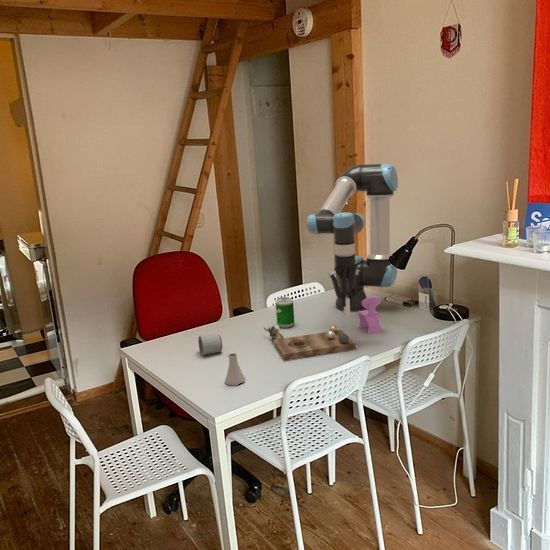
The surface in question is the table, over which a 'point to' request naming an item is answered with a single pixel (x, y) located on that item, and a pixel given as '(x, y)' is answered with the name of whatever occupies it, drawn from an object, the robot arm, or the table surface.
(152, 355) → the table surface
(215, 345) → the grey cylinder
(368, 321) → the toy chair
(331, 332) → the steel ball
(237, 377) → the flask
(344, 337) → the black rubber ball
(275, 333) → the eagle figurine
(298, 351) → the board
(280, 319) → the soda can
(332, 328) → the brass ball
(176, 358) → the table surface
